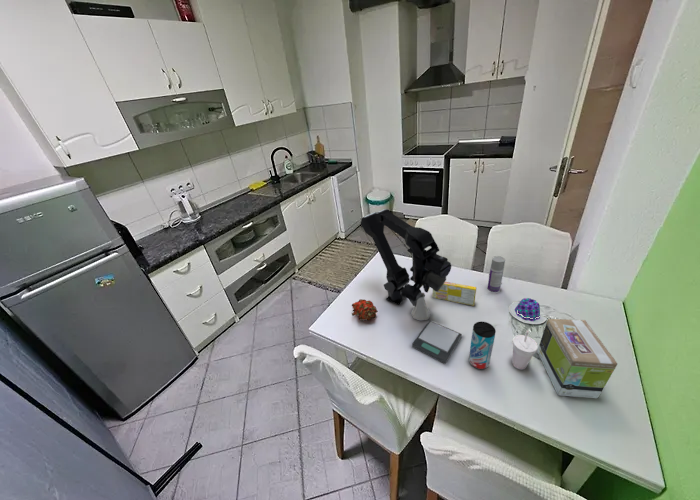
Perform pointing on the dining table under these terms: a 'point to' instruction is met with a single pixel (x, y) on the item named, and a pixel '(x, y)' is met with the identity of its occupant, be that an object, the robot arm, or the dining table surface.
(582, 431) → the dining table surface
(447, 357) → the scale
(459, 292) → the candy box
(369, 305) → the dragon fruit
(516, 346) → the smoothie
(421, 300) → the flask
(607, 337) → the dining table surface
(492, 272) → the container
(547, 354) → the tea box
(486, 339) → the beverage can
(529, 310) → the pudding
